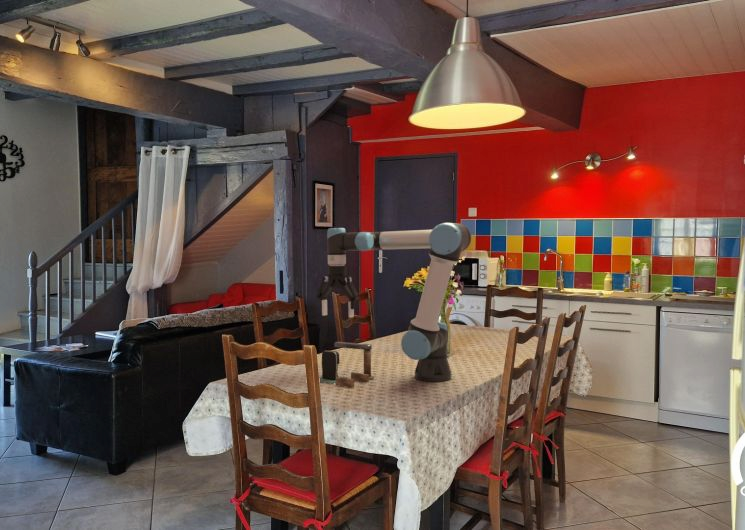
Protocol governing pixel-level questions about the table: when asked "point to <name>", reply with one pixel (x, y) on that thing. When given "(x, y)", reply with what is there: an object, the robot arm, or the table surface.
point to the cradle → (358, 376)
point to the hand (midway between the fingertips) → (337, 316)
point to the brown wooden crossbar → (353, 345)
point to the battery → (330, 364)
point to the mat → (328, 380)
